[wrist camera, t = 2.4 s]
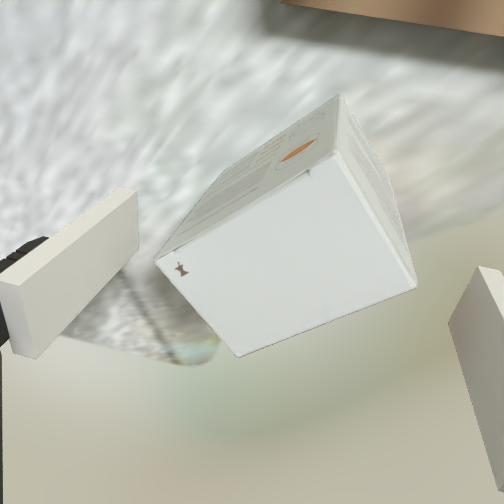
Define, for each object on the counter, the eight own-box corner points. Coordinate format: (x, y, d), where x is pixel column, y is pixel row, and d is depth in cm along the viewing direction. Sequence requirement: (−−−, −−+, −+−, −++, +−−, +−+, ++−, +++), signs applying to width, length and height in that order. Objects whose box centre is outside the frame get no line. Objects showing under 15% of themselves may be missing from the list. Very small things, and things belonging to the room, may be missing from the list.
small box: (273, 241, 25) (233, 363, 17) (221, 168, 24) (145, 263, 15) (393, 178, 22) (423, 293, 13) (342, 88, 20) (338, 149, 11)
